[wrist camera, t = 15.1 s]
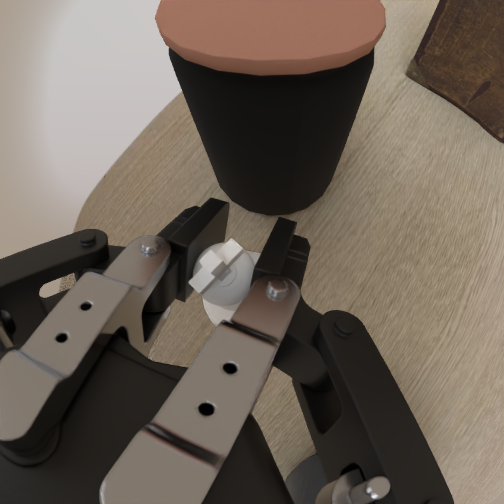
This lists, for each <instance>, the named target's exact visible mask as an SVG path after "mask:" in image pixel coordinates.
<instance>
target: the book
mask: <svg viewBox="0 0 504 504" xmlns="http://www.w3.org/2000/svg"><path fill="white" fill-rule="evenodd" d="M406 75H408V76H409V77H411V78H412V79H413V80H415V81H417V82H418V83H420V84H421V85H423V86H425V87H427V88H429V89H430V90H432V91H433V92H435V93H437V94H439V95H440V96H442V97H444V98H445V99H447V100H448V101H450V102H451V103H453V104H454V105H456V106H457V107H459V108H460V109H461V110H463V111H464V112H466V113H467V114H468V115H470V116H471V117H472V118H473V119H475V120H476V121H477V122H478V123H479V124H480V125H481V126H482V127H483V128H484V129H485V130H486V131H488V132H489V133H490V134H491V135H492V136H493V137H495V138H496V139H497V140H499V141H500V142H504V0H440V1H439V3H438V5H437V8H436V10H435V12H434V15H433V17H432V19H431V21H430V23H429V26H428V28H427V30H426V32H425V35H424V37H423V39H422V41H421V43H420V45H419V47H418V50H417V52H416V54H415V56H414V58H413V59H412V61H411V63H410V65H409V67H408V69H407V72H406Z"/></svg>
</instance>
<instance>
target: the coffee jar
mask: <svg viewBox="0 0 504 504" xmlns="http://www.w3.org/2000/svg"><path fill="white" fill-rule="evenodd" d="M155 20H156V23H157V26H158V28H159V31H160V34H161V36H162V38H163V40H164V42H165V44H166V45H167V46H168V47H169V56H170V60H171V62H172V65H173V68H174V71H175V73H176V76H177V78H178V81H179V84H180V86H181V89H182V91H183V94H184V97H185V99H186V102H187V104H188V107H189V109H190V112H191V114H192V117H193V119H194V122H195V124H196V127H197V129H198V132H199V134H200V137H201V140H202V142H203V145H204V147H205V150H206V152H207V155H208V157H209V160H210V162H211V165H212V167H213V170H214V172H215V175H216V177H217V180H218V182H219V185H220V187H221V188H222V190H223V191H224V192H225V193H226V194H227V195H228V196H229V198H230V199H231V200H232V201H233V202H235V203H237V204H238V205H240V206H242V207H243V208H245V209H247V210H249V211H252V212H257V213H261V214H265V215H284V214H291V213H293V212H296V211H299V210H302V209H304V208H307V207H308V206H310V205H311V204H312V203H314V202H315V201H316V200H317V199H319V198H320V197H321V196H322V195H323V193H324V192H325V190H326V188H327V187H328V185H329V184H330V182H331V180H332V178H333V175H334V172H335V170H336V167H337V165H338V162H339V160H340V157H341V154H342V152H343V149H344V147H345V144H346V141H347V139H348V136H349V133H350V131H351V128H352V125H353V122H354V120H355V117H356V114H357V111H358V109H359V106H360V103H361V100H362V98H363V95H364V92H365V89H366V86H367V83H368V80H369V78H370V75H371V72H372V69H373V66H374V46H375V45H376V43H377V42H378V41H379V39H380V38H381V36H382V34H383V32H384V30H385V28H386V19H385V8H384V6H383V5H382V3H381V2H380V0H161V1H160V4H159V7H158V10H157V13H156V16H155Z"/></svg>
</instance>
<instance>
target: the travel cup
mask: <svg viewBox="0 0 504 504" xmlns="http://www.w3.org/2000/svg"><path fill="white" fill-rule="evenodd" d="M285 484H286V487H287V489H288V491H289V493H290V495H291V497H292V499H293V501H294V503H295V504H315V501H316V497H317V495H318V493H319V492H320V490H321V489H322V488H323V487H324V486H325V485H327V484H328V483H327V480H326V477H325V474H324V471H323V469H322V466H321V463H320V460H319V457H318V455H317V454H315V455H313V456H311V457H309V458H308V459H306V460H305V461H303V462H302V463H301V464H300V465H298V466H297V467H296V468H295V469H294V470H293V471H292V473H291V474H290V475H289V477H288V478H287V480H286V482H285Z"/></svg>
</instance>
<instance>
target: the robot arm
mask: <svg viewBox="0 0 504 504" xmlns="http://www.w3.org/2000/svg"><path fill="white" fill-rule="evenodd" d="M229 207H230V205H229V202H225V201H222V200H218V199H214V198H210V199H209V200H207V201H206V202H205V203H204V204H203V205H202V206H201V207H198V206H193V207H191V208H188V209H185V210H184V211H183V212H181V213H180V214H179V215H178V217H176V218H175V219H174V220H173V221H172V222H170V223H169V224H168V225H167V226H166V227H165V228H164V229H163V230H162V231H161V232H159V233H158V234H157V235H156V236H154V235H147V236H141V237H138V238H136V239H134V240H133V241H132V242H131V243H130V244H129V245H128V246H127V247H121V246H112V245H108V237H107V235H106V234H105V233H104V232H103V231H101V230H97V229H86V230H82V231H79V232H76V233H73V234H70V235H67V236H64V237H61V238H58V239H55V240H52V241H49V242H46V243H43V244H40V245H38V246H35V247H32V248H29V249H26V250H24V251H21V252H18V253H15V254H13V255H10V256H8V257H5V258H3V259H0V504H295V503H294V501H293V499H292V497H291V495H290V493H289V491H288V489H287V487H286V484H285V482H284V480H283V478H282V476H281V474H280V471H279V469H278V467H277V465H276V462H275V460H274V458H273V456H272V453H271V451H270V449H269V447H268V444H267V442H266V440H265V437H264V435H263V433H262V431H261V429H260V426H259V425H258V423H257V421H256V420H255V418H254V417H253V415H252V412H253V410H254V408H255V405H256V403H257V401H258V399H259V396H260V394H261V392H262V390H263V388H264V385H265V383H266V381H267V379H268V376H269V374H270V372H271V370H272V367H273V366H275V367H276V368H278V369H280V370H281V371H283V372H284V373H286V374H287V375H289V376H290V377H292V383H293V386H294V389H295V392H296V395H297V398H298V401H299V403H300V406H301V409H302V412H303V415H304V418H305V421H306V423H307V426H308V429H309V432H310V435H311V438H312V440H313V443H314V446H315V449H316V452H317V455H318V457H319V460H320V463H321V466H322V469H323V471H324V474H325V477H326V480H327V483H328V484H327V485H325V486H324V487H323V488H322V489H321V490H320V492H319V493H318V495H317V497H316V501H315V504H454V501H453V498H452V495H451V493H450V491H449V488H448V486H447V484H446V482H445V479H444V477H443V475H442V473H441V471H440V468H439V466H438V464H437V462H436V460H435V458H434V456H433V454H432V452H431V450H430V447H429V445H428V443H427V441H426V439H425V437H424V435H423V433H422V431H421V429H420V427H419V425H418V423H417V421H416V419H415V417H414V415H413V413H412V412H411V410H410V408H409V406H408V404H407V402H406V400H405V398H404V396H403V394H402V392H401V391H400V389H399V387H398V385H397V383H396V381H395V379H394V378H393V376H392V374H391V372H390V370H389V368H388V367H387V365H386V363H385V361H384V359H383V358H382V356H381V354H380V352H379V351H378V349H377V347H376V345H375V344H374V342H373V340H372V338H371V337H370V335H369V333H368V331H367V330H366V328H365V326H364V325H363V323H362V322H361V321H360V320H359V319H358V318H357V317H355V316H354V315H352V314H350V313H348V312H345V311H340V310H332V311H329V312H326V313H325V314H324V315H322V314H320V313H318V312H317V311H315V310H313V309H312V308H311V307H309V306H308V305H307V304H306V303H305V301H304V300H303V298H302V296H301V285H302V281H303V277H304V273H305V269H306V265H307V261H308V256H309V252H310V248H311V247H310V245H309V242H308V240H307V239H306V238H303V237H300V236H297V235H294V233H295V229H296V225H297V222H294V221H291V220H288V219H284V218H281V217H279V218H278V220H277V222H276V224H275V226H274V228H273V230H272V232H271V234H270V236H269V238H268V240H267V242H266V244H265V246H264V248H263V250H262V253H261V255H260V257H259V259H258V261H257V263H256V265H255V267H254V270H253V275H252V279H251V284H250V288H249V291H248V292H247V294H246V295H245V297H244V298H243V300H242V301H241V303H240V305H239V306H238V308H237V309H236V311H235V312H234V314H233V315H232V317H231V318H230V320H229V321H228V320H226V319H223V320H222V321H221V322H220V323H219V324H218V326H217V327H216V329H215V330H214V332H213V333H212V335H211V336H210V337H209V339H208V340H207V342H206V343H205V345H204V346H203V348H202V349H201V351H200V352H199V354H198V355H197V356H196V358H195V359H194V361H193V362H192V364H191V365H190V367H189V368H187V367H181V366H175V365H170V364H164V363H159V362H155V361H152V360H150V359H148V355H149V352H150V349H151V348H152V346H153V344H154V342H155V340H156V338H157V336H158V334H159V333H160V331H161V329H162V327H163V325H164V323H165V322H166V320H167V318H168V316H169V314H170V311H171V303H172V302H173V301H174V299H178V300H180V301H183V302H185V301H186V300H187V298H188V297H189V295H190V294H191V293H192V291H193V290H194V288H193V287H192V286H191V285H190V284H189V283H188V282H189V281H190V280H191V279H192V278H193V269H194V265H195V263H196V260H197V258H198V257H199V255H200V254H201V253H202V252H203V251H204V250H205V249H207V248H208V247H210V246H212V245H214V244H218V243H224V240H225V234H226V227H227V221H228V214H229ZM72 273H74V274H75V279H76V283H75V285H74V286H73V287H72V288H70V289H68V290H65V291H62V292H60V293H57V294H55V295H53V296H50V297H47V298H43V297H40V296H39V291H40V288H41V287H42V286H43V285H44V284H46V283H48V282H51V281H53V280H56V279H59V278H61V277H64V276H66V275H69V274H72Z"/></svg>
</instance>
